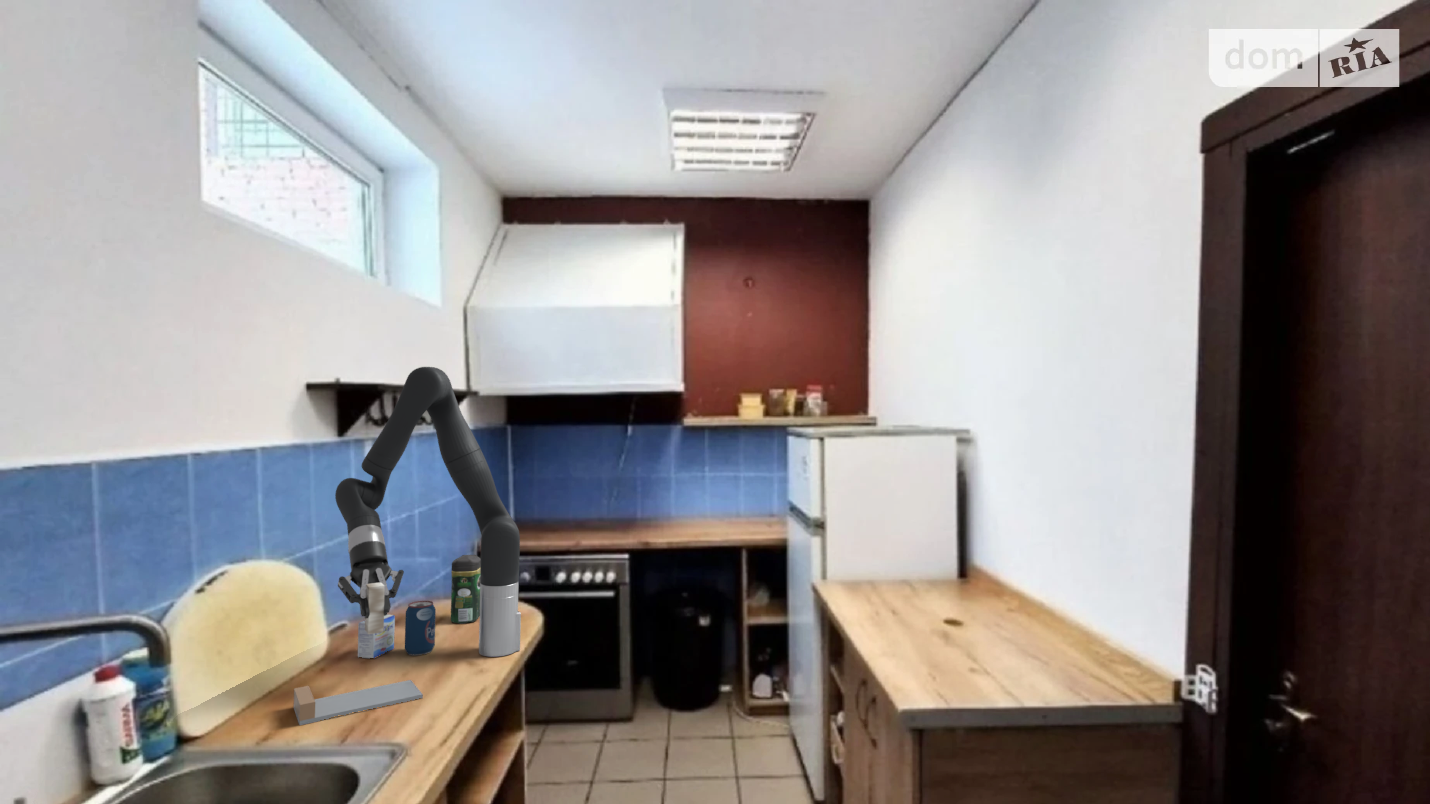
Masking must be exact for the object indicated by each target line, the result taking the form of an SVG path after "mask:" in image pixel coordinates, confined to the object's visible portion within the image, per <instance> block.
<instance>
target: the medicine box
mask: <svg viewBox="0 0 1430 804" xmlns="http://www.w3.org/2000/svg"><path fill="white" fill-rule="evenodd" d="M395 618H396V617H395V615H394V614H389V613H387V615H386V616H384V632H381V633H375V634H369V635H368V633H367V632H366V631H365V620H363V621H360V622H358V625H357V626H358V631H357V632H358V633H357V637H358V638H357V658H359V657H362V658H361V659H370V658H374V659H376V658H377V656H378V657H380V656H382V655H384V654H386V653H388V652H390V651H392V650H394V649H395V624H396V619H395ZM387 651H388V652H387ZM385 652H386V653H385ZM381 654H382V655H381ZM379 655H380V656H379ZM375 657H376V658H375Z"/></svg>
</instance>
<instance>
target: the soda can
mask: <svg viewBox="0 0 1430 804" xmlns="http://www.w3.org/2000/svg"><path fill="white" fill-rule="evenodd" d="M436 611H437V610H436V607H435V605H434V602H433V601H432V600H417V601H413V602H410V603H408V606H407V609H406V611H405V621H404V622H405V626H404V627H405V628H404V629H405V630H404V650H405V652H406V653H407V655H409V656H423V655H422V654H424V655H427V653H428V654H429V653H431V652H432V651H433V649H434V647H435V645H436V613H437V612H436Z"/></svg>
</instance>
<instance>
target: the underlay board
mask: <svg viewBox="0 0 1430 804" xmlns="http://www.w3.org/2000/svg"><path fill="white" fill-rule="evenodd" d="M423 695H424V694H423V692H422V691H420V689H419V688H418V687H417V685H416V684H415V683H414V682H413V680H412V679H407V680H402V681H398V682H393V683H388V684H383V685H379V686H373V687H369V688H363V689H360V690H354V691H349V692H344V693H340V694H333V695H330V696H324V697H320V698H315V697H314V695H313V693H312V690H311V688H310V686H309V685H305V686H299V687H295V688H293V710H294V712H295V716H296V719H297V723H298V725H299V726H303V725H308V724H311V723H317V722H321V721H320V720H322V721H325V720H324V719H326V720H330V719H329V718H331V717H334V716H338V715H344V716H347V715H346V714H349V713H352V712H358V711H363V710H367V709H372V710H374V709H373V708H376V709H378V708H377V707H381V708H383V707H382V706H385V707H387V706H386V705H390V706H394V705H397V704H396V703H399V704H402V703H401V702H403V703H407V701H408V702H411V701H410V700H412V701H415V699H417V700H420V699H419V698H421V699H423V698H424V696H423ZM393 704H394V705H393ZM367 711H368V710H367ZM363 712H364V711H363ZM358 713H359V712H358ZM349 715H350V714H349ZM331 719H332V718H331Z"/></svg>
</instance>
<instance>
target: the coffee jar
mask: <svg viewBox="0 0 1430 804" xmlns="http://www.w3.org/2000/svg"><path fill="white" fill-rule="evenodd" d="M480 567H481V557H480V556H478V555H477V554H462V555H461V556H459V557H457V558H455V559H454V560H453V561H452V562H451V571H450V572H451V590H450V591H451V592H450V593H451V597H450V598H451V600H450V601H451V603H450V622H451V623H454V624H459V625H460V624H461V625H462V624H463V625H464V624H467V623H475V622H476V621H477V620H479V619H480Z"/></svg>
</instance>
